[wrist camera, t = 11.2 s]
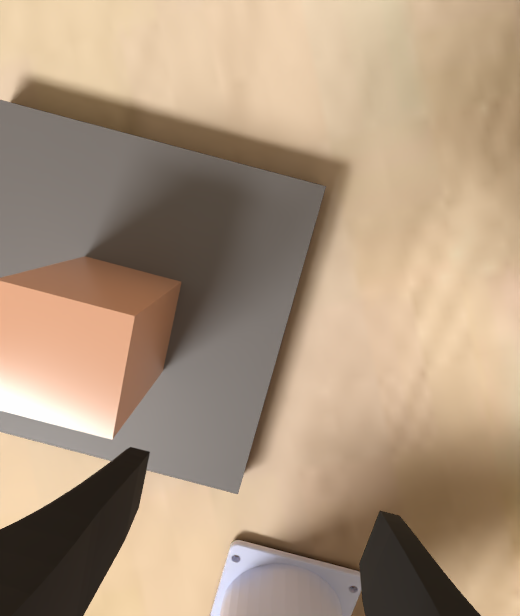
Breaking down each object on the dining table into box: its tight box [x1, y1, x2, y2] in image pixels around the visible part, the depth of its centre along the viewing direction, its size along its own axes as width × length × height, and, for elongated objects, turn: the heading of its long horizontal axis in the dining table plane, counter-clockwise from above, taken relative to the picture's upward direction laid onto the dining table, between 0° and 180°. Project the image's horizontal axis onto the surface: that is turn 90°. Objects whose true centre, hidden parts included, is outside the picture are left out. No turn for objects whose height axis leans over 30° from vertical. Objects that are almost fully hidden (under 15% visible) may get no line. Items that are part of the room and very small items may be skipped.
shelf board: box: [0, 100, 326, 494], centre depth 20 cm, size 16×15×2 cm
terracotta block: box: [0, 256, 181, 440], centre depth 16 cm, size 5×5×6 cm
